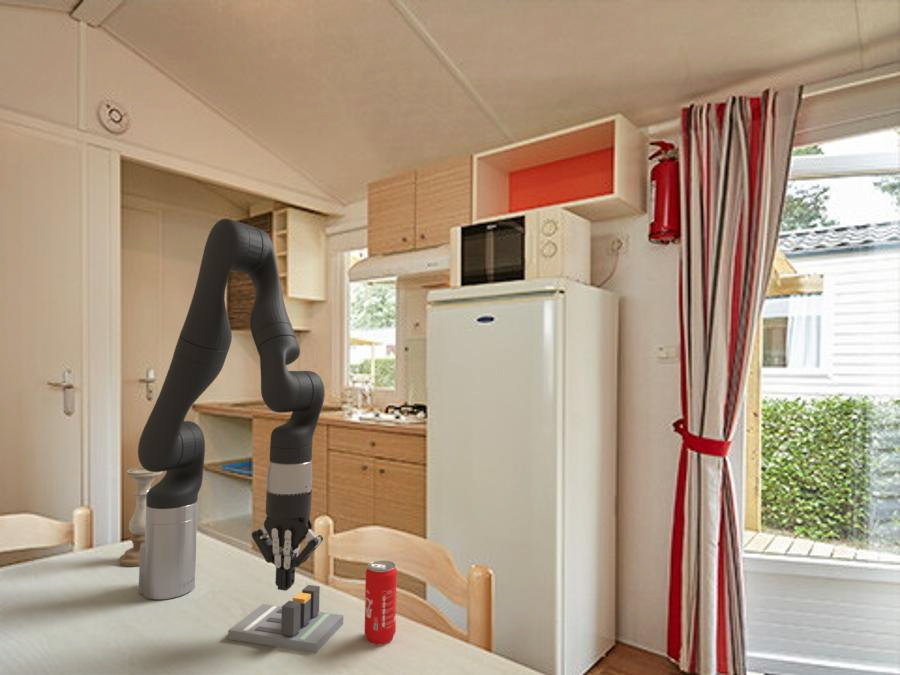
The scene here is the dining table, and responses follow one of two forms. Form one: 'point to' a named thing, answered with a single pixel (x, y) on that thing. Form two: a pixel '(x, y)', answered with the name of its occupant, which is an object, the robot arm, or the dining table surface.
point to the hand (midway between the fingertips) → (284, 588)
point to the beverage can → (380, 602)
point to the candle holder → (138, 514)
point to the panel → (267, 629)
